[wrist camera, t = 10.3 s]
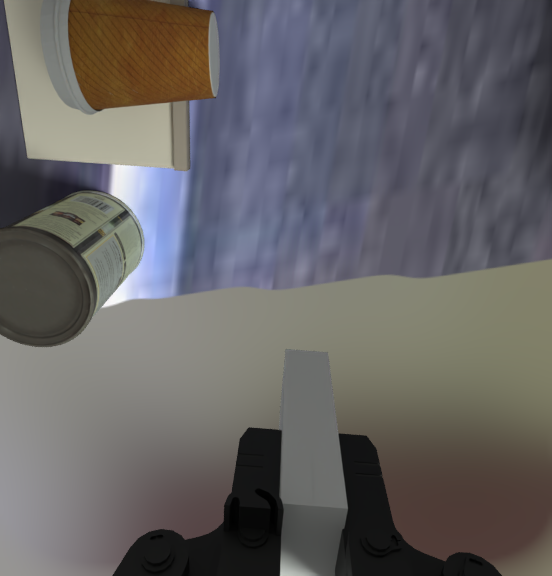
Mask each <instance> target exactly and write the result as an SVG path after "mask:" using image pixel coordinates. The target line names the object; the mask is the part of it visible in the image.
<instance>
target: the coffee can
mask: <svg viewBox="0 0 552 576" xmlns="http://www.w3.org/2000/svg"><path fill="white" fill-rule="evenodd" d="M143 252H144V236H143V231H142V228H141V226H140V223H139V221H138V220H137V218H136V216H135V215H134V213H133V212H132V211H131V210H130V209H129V208H128V207H127V206H126V205H125V204H124V203H123V202H121V201H120V200H118V199H117V198H115V197H113V196H111V195H108V194H106V193H103V192H98V191H79V192H75V193H72V194H70V195H68V196H66V197H65V198H63V199H62V200H59V201H58V202H56V203H54V204H51V205H49V206H47V207H45V208H43V209H41V210H39V211H37V212H35V213H33V214H31V215H29V216H27V217H25V218H23V219H21V220H19V221H17V222H15V223H13V224H10V225H8V226H6V227H4V228H0V334H1V335H3V336H4V337H7V338H8V339H10V340H13V341H15V342H18V343H20V344H24V345H29V346H35V347H52V346H57V345H61V344H64V343H66V342H69V341H70V340H72V339H74V338H75V337H77V336H78V335H79V334H81V332H82V331H83V330H84V329H85V328H86V326H87V325H88V323H89V322H90V320H91V318H92V317H93V316H94V315H95V314H96V313H97V311H98V310H99V309H100V308H101V307H102V306H103V304H104V303H105V302H106V301H107V300H108V299H109V297H110V296H111V295H112V294H113V293H114V292H115V291H116V289H117V288H118V287H119V286H120V285H121V284H122V283H123V281H124V280H125V279H126V278H127V277H128V275H129V274H130V273H132V272H133V271H134V270H135V269H136V267H137V266H138V265H139V263H140V261H141V259H142V256H143Z"/></svg>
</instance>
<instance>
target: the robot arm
mask: <svg viewBox="0 0 552 576" xmlns="http://www.w3.org/2000/svg"><path fill="white" fill-rule="evenodd" d="M113 576H502V575H501V574H500V573H499V572H498V570H496V568H495V567H494V566H493V565H492V564H490V563H489V562H487V561H486V560H485V559H483V558H482V557H479V556H477V555H474V554H471V553H462V552H461V553H460V552H458V553H455V554H453V555H451V556H449V557H448V559H447V560H446V561H443V560H440V559H437V558H435V557H432V556H429V555H427V554H424V553H422V552H420V551H418V550H416V549H414V548H413V547H412V546H410V545H409V544H408V543H406V541H405V540H404V539H403V538H402V535H401V534H400V533H399V532H398V531H397V530H396V528H395V526H394V523H393V520H392V515H391V511H390V507H389V502H388V498H387V494H386V489H385V485H384V481H383V478H382V472H381V467H380V463H379V459H378V455H377V450H376V448H375V447H374V445H373V444H372V442H371V441H370V440H369V438H368V437H367V436H363V435H351V434H338V428H337V420H336V412H335V405H334V397H333V389H332V381H331V374H330V365H329V358H328V352H316V351H303V350H291V349H286V350H285V361H284V372H283V384H282V395H281V406H280V424H279V430H273V429H262V428H248V429H247V431H246V432H245V433H244V434H243V436H242V437H241V438H240V442H239V448H238V456H237V461H236V468H235V474H234V481H233V487H232V493H231V494H230V495H229V496H228V498H227V500H226V502H225V505H224V522H223V523H222V524H221V525H220V526H219V527H218V528H217V529H216V530H214V531H212V532H211V533H209V534H206V535H203V536H200V537H196V538H192V539H187V540H184V538H183V537H182V536H181V535H179V534H178V533H176V532H174V531H172V530H164V529H160V530H155V531H151V532H148V533H146V534H145V535H143V536H141V537H140V538H138V540H137V541H136V542H135V543H134V544H133V545H132V546H131V547H130V549H129V550H128V552H127V553H126V555H125V557H124V558H123V560H122V562H121V563H120V565H119V566H118V568H117V569H116V571H115V573H114V574H113Z"/></svg>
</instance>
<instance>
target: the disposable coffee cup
mask: <svg viewBox="0 0 552 576" xmlns="http://www.w3.org/2000/svg"><path fill="white" fill-rule="evenodd" d="M40 34H41V44H42V50H43V56H44V60H45V64H46V67H47V71H48V74H49V77H50V80H51V82H52V84H53V87H54V89H55V91H56V92H57V94H58V96H59V97H60V99H61V100H62V101H63V102H64V103H65V104H66V105H67V106H69V107H71V108H74V109H78V110H81V112H83V113H85V114H87V115H93V114H95V113H97V112H100V111H102V110H104V109H109V108H119V107H129V106H139V105H150V104H160V103H170V102H178V101H188V100H200V99H208V98H216V96H217V92H218V87H219V65H220V63H219V39H218V29H217V22H216V17H215V14H214V12H213V11H209V10H203V9H197V8H191V7H185V6H180V5H174V4H168V3H163V2H157V1H150V0H43V3H42V7H41V15H40Z"/></svg>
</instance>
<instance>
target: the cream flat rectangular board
mask: <svg viewBox="0 0 552 576" xmlns="http://www.w3.org/2000/svg"><path fill="white" fill-rule="evenodd" d="M150 1H157V2H163V3H168V4H174V5H180V6H185V7H188V0H150ZM42 3H43V0H4V4H5V11H6V17H7V24H8V30H9V37H10V44H11V50H12V57H13V64H14V70H15V77H16V84H17V90H18V97H19V104H20V110H21V117H22V124H23V130H24V137H25V144H26V150H27V157H28V158H31V159H45V160H60V161H74V162H88V163H102V164H116V165H131V166H145V167H159V168H173V169H174V170H179V171H188V170H189V169H190V120H189V100H188V101H178V102H170V103H160V104H150V105H139V106H129V107H119V108H109V109H104V110H102V111H100V112H97V113H95V114H93V115H87V114H85V113H83V112H81V110H78V109H74V108H71V107H69V106H67V105H66V104H65V103H64V102H63V101H62V100H61V99H60V97H59V96H58V94H57V92H56V91H55V89H54V87H53V84H52V82H51V80H50V77H49V74H48V71H47V67H46V64H45V60H44V56H43V50H42V44H41V34H40V15H41V7H42Z"/></svg>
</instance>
